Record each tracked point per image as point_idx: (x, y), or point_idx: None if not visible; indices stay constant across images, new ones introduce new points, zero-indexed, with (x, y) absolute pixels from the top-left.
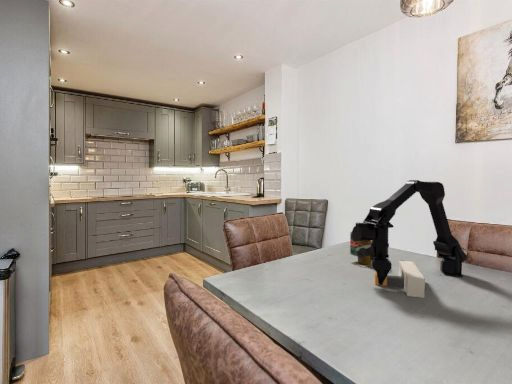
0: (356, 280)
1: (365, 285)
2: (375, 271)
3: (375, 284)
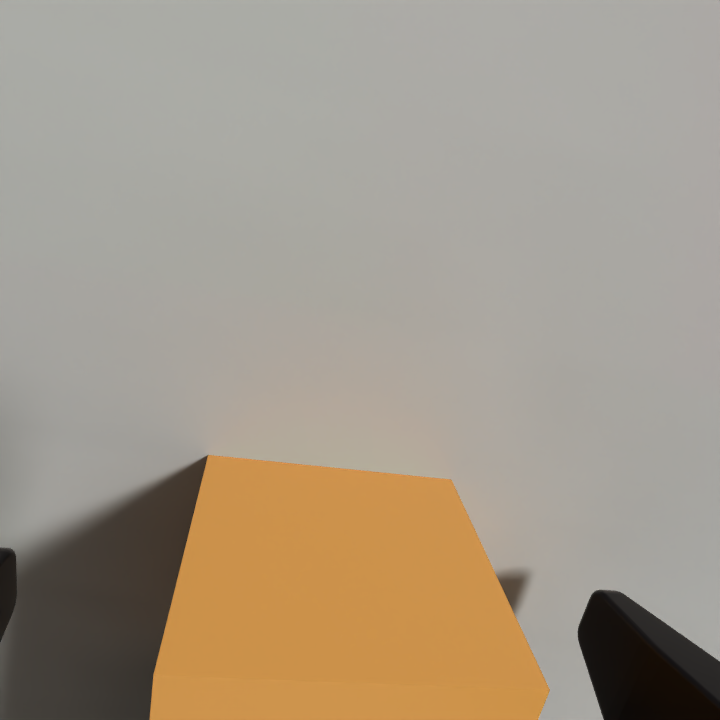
0: (464, 19)
1: (80, 207)
2: (478, 706)
3: (210, 462)
